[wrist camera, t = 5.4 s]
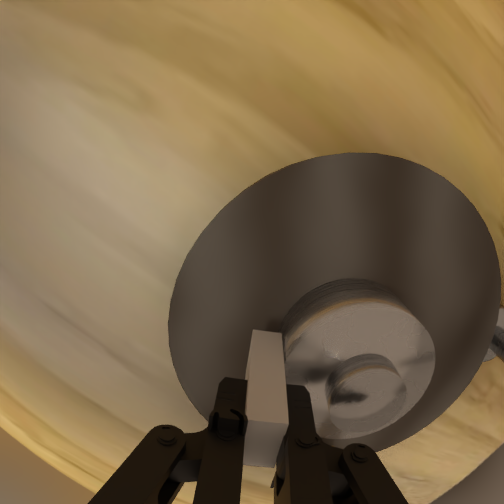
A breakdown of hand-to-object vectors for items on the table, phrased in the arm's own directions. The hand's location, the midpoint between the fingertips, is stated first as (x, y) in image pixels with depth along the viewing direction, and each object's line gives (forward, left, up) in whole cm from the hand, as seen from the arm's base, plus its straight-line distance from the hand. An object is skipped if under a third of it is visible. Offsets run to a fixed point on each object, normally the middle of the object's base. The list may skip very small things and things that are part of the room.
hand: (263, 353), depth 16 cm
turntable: (+5, 0, -4) cm, 7 cm away
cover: (+5, 0, -2) cm, 5 cm away
